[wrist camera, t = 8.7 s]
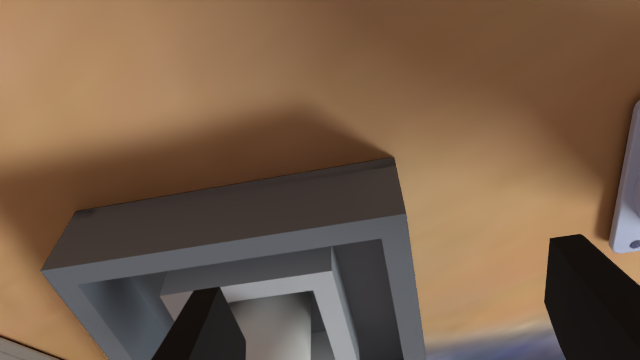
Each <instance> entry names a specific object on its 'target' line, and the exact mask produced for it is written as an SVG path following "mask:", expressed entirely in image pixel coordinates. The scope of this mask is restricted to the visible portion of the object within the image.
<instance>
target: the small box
mask: <svg viewBox="0 0 640 360" xmlns="http://www.w3.org/2000/svg"><path fill="white" fill-rule="evenodd" d="M0 360H60V359H57V358H54V357H52V356H49V355H46V354H44V353H41V352H38V351H36V350H33V349H30V348H27V347H25V346H22V345H20V344H17V343H14V342H12V341H9V340H6V339H4V338H1V337H0Z"/></svg>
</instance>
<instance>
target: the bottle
mask: <svg viewBox="0 0 640 360" xmlns="http://www.w3.org/2000/svg"><path fill="white" fill-rule="evenodd" d="M229 307H230V309H231V311H232V313H233V315H234V317H235V319H236V321H237V323H238V325H239V327H240V329H241V331H242V333H243V335H244V338H245V340H246V360H311V297H310V294H309V292H308V291H304V292H297V293H290V294H283V295H276V296H269V297H262V298H255V299H248V300H241V301H234V302H229Z"/></svg>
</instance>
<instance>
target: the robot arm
mask: <svg viewBox="0 0 640 360" xmlns="http://www.w3.org/2000/svg"><path fill="white" fill-rule="evenodd" d="M609 246H610V248H611V249H612V250H613V251H614V252H616V253H627V252H634V251H640V100H639V101H638V102H637V103H636V104H635V107H634V109H633V114H632V120H631V125H630V131H629V136H628V141H627V147H626V152H625V157H624V163H623V168H622V173H621V179H620V184H619V189H618V195H617V200H616V205H615V211H614V216H613V222H612V227H611V232H610V238H609ZM544 302H545V305H546V308H547V311H548V314H549V317H550V320H551V323H552V326H553V328H554V331H555V334H556V337H557V339H558V342H559V345H560V347H561V349H562V352H563V354H564V356H565V358H566V360H640V286H639V285H638V284H637V283H636V282H635V281H634V280H633V279H631V278H630V277H629V276H628V275H627V274H626V273H624V272H623V271H622V270H621V269H620V268H619V267H618V266H617V265H615V264H614V263H613V262H612V261H611V260H610V259H609V258H608V257H606V256H605V255H604V254H603V253H602V252H601V251H600V250H599V249H598V248H597V247H595V246H594V245H593V244H592V243H591V242H590V241H589V240H588V239H587V238H586V237H584V236H583V235H581V234H576V235H570V236H563V237H556V238H550V243H549V254H548V266H547V277H546V288H545V299H544ZM151 360H246V340H245V338H244V335H243V333H242V331H241V329H240V327H239V325H238V323H237V321H236V319H235V317H234V315H233V313H232V311H231V309H230V307H229V305H228V303H227V301H226V298H225V296H224V294H223V292H222V290H221V288H220V287H213V288H206V289H200V290H194V291H193V293H192V294H191V295H190V297H189V299H188V300H187V302H186V304H185V305H184V307H183V309H182V310H181V312H180V314H179V315H178V317H177V319H176V320H175V322H174V323H173V325H172V327H171V328H170V330H169V332H168V333H167V335H166V337H165V338H164V340H163V341H162V343H161V345H160V346H159V348H158V350H157V351H156V353H155V354H154V356H153V357H152V359H151Z"/></svg>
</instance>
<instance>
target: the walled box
mask: <svg viewBox="0 0 640 360" xmlns="http://www.w3.org/2000/svg"><path fill="white" fill-rule="evenodd" d="M41 273H42V274H43V275H44V276H45V278H46V279H47V280H48V282H49V283H50V284H51V285H52V287H53V288H54V289H55V291H56V292H57V293H58V294H59V296H60V297H61V298H62V299H63V301H64V302H65V303H66V305H67V306H68V307H69V308H70V310H71V311H72V312H73V314H74V315H75V316H76V317H77V319H78V320H79V321H80V322H81V324H82V325H83V326H84V328H85V329H86V330H87V331H88V333H89V334H90V335H91V337H92V338H93V339H94V340H95V342H96V343H97V344H98V345H99V347H100V348H101V349H102V351H103V352H104V353H105V354H106V356H107V357H108V358H109V360H151V359H152V357H153V356H154V354H155V353H156V351H157V350H158V348H159V346H160V345H161V343H162V341H163V340H164V338H165V337H166V335H167V333H168V332H169V330H170V328H171V327H172V325H173V323H174V322H175V320H176V319H177V317H178V315H179V314H180V312H181V310H182V309H183V307H184V305H185V304H186V302H187V300H188V299H189V297H190V295H191V294H192V293H193V291H194V290H200V289H206V288H213V287H220V288H221V290H222V292H223V294H224V296H225V298H226V301H227V303H228V305H229V302H234V301H241V300H248V299H255V298H262V297H269V296H276V295H283V294H290V293H297V292H304V291H308V292H309V294H310V297H311V360H426V353H425V346H424V338H423V331H422V324H421V317H420V310H419V302H418V295H417V288H416V281H415V274H414V266H413V259H412V252H411V245H410V238H409V230H408V223H407V216H406V210H405V206H404V201H403V196H402V192H401V187H400V182H399V178H398V173H397V168H396V164H395V159H394V157H392V158H386V159H381V160H375V161H369V162H363V163H357V164H351V165H345V166H340V167H334V168H328V169H322V170H316V171H310V172H304V173H299V174H293V175H287V176H281V177H275V178H269V179H263V180H258V181H252V182H246V183H240V184H234V185H228V186H222V187H217V188H211V189H205V190H199V191H193V192H187V193H181V194H176V195H170V196H164V197H158V198H152V199H146V200H140V201H135V202H129V203H123V204H117V205H111V206H105V207H99V208H94V209H88V210H82V211H76V212H75V213H74V215H73V217H72V218H71V220H70V222H69V223H68V225H67V227H66V229H65V230H64V232H63V234H62V235H61V237H60V239H59V240H58V242H57V244H56V245H55V247H54V249H53V250H52V252H51V254H50V255H49V257H48V259H47V260H46V262H45V264H44V266H43V267H42V269H41Z"/></svg>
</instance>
